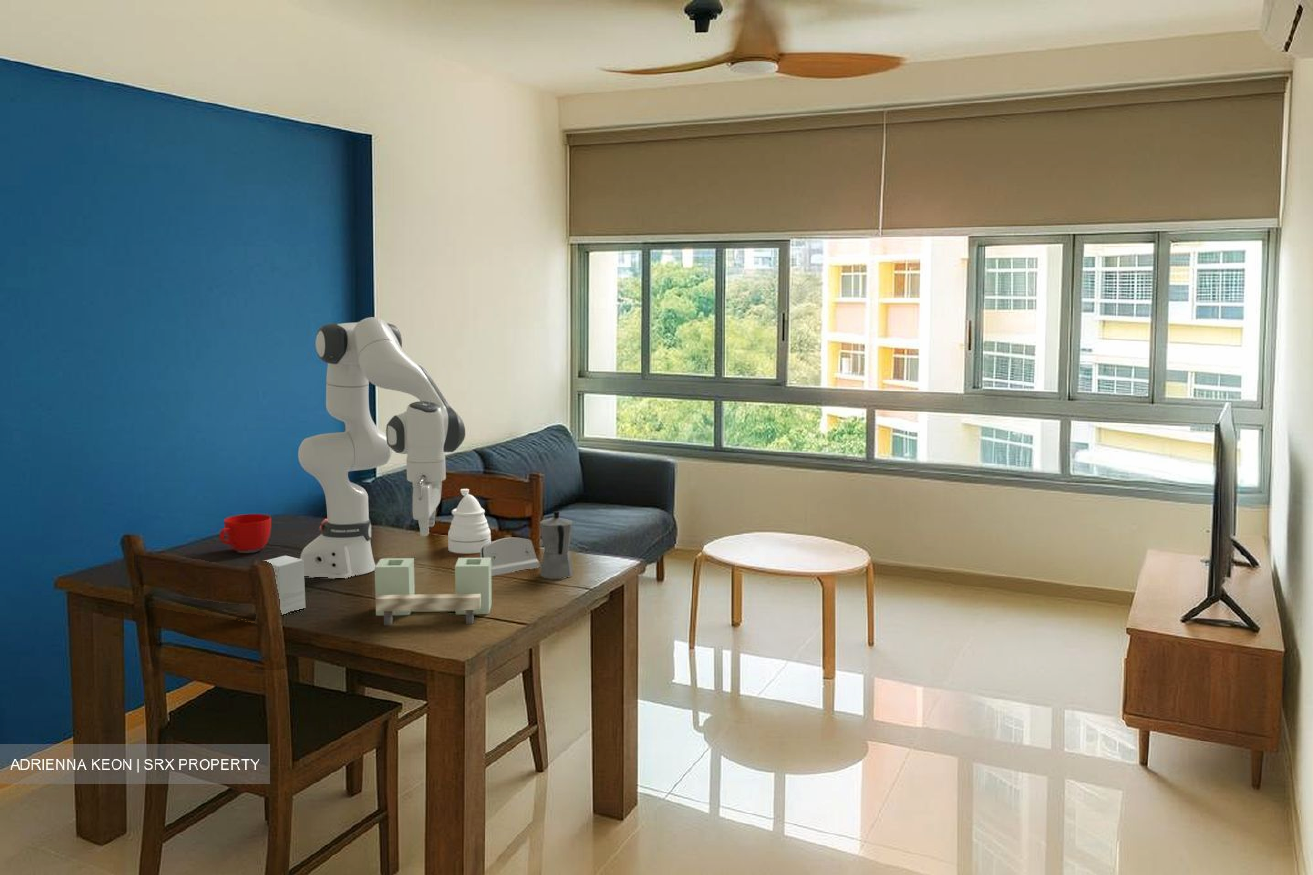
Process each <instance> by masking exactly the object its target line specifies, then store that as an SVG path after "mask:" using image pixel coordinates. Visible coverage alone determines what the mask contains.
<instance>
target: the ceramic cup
mask: <svg viewBox="0 0 1313 875" xmlns="http://www.w3.org/2000/svg"><path fill="white" fill-rule="evenodd" d="M223 524H224V528H222V529H221V530H220V532H219V539H220V540H221V542H222V543H223V544H225V545H228V546H231V548H232V550H235V551H236V550H239V551H248V550H256V549H261V548H265V546H266V545H267V543H268V541H269V539H270V536H271V531H272V517H271V516H270V515H268V514H261V513H248V514H237V515H233V516H229V517H227V518H225V519H223ZM225 536H226V538H225Z"/></svg>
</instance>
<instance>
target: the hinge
mask: <svg viewBox="0 0 1313 875" xmlns="http://www.w3.org/2000/svg"><path fill="white" fill-rule="evenodd" d="M479 558H491V577H495V576H500V575H506V574H507V575H508V574H511V572H512V573H516V572H515V571H518V572H520V571H519V570H524V569H530V570H533V569H534V568H535V569H540V568H541V564H540V561H539V559H538V558H537V555H536V552H535V548H534V544H533V542H532V540H531V539H529V538H524V537H523V538H522V537H503V538H499V539H496V540H494V541H491V543H489V544H487V545H485V546H483V547H482V548H481V550H480V553H479ZM539 567H540V568H539ZM524 571H525V570H524Z"/></svg>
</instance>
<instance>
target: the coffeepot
mask: <svg viewBox="0 0 1313 875" xmlns="http://www.w3.org/2000/svg"><path fill="white" fill-rule="evenodd" d="M573 526H574V521H573V520H570V519H567V518H562V517H560V511H556V510H555V511H553V517H549V518H547V519H543V520H541V521H540V522H539V528H540V536H541V541H542V542H541V543H542V546H543V547H544V552H543V554H542V560H541V564H540V571H539V572H540V573H539V576H541V577H542V578H544V579H547V578H548V579H549V580H561V579H560V578H564V577H568V576H571V575H572V576H573V574H572V573H574V570H573V565H572V558H571V553H570V551H569V550H570V549H569V546H570V545H571V540H572V532H573ZM572 576H571V577H572ZM548 579H547V580H548Z"/></svg>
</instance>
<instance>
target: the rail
mask: <svg viewBox="0 0 1313 875" xmlns="http://www.w3.org/2000/svg"><path fill="white" fill-rule="evenodd" d="M480 607H481V594H455V593H436V594H435V593H434V594H432V593H431V594H425V593H424V594H423V593H422V594H420V593H419V594H415V595H378V596H377V597H376V596H375V612H376V611H384V615H383V626H391V625H392V623H393V620H394V619H393V616H394V615H393V611H428V610H466V614H465V625H473V623H474V616H475V614H474V610H480Z"/></svg>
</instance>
